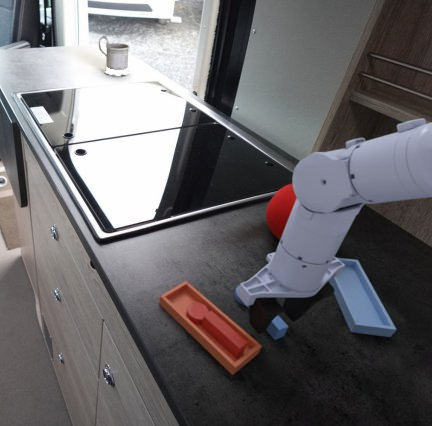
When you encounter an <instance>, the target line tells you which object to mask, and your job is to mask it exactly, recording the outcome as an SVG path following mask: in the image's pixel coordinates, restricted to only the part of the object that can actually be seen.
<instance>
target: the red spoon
mask: <svg viewBox="0 0 432 426" xmlns="http://www.w3.org/2000/svg"><path fill="white" fill-rule="evenodd" d="M186 317H187V318H188V319H189V320H190V321H191V322H192V323H193V324H196V325H201V327H202V328H204V329H205V330H206V331H207V332H208V333H209V334H210V335H211V336H212V337H213V338H214V339H215V340H216V341H217V342H219V343H220V344H221V345H222V346H223V347H224V348H225V349H226V350H227V351H228V352H229V353H230V354H231V355H233V356H234V357H235V358H238V357H239V356H240V355H241V354H242V353H244V351H245V348H246V346H247V343H248V342H247V341H246V340H245V339H243V338H242V337H241V336H240V335H239V334H238V333H237V332H235V331H234V330H233V329H232V328H231V327H230V326H229V325H227V324H226V323H225V322H224V321H223V320H222V319H221V318H219V317H218V316H217V315H216V314H215V313H214V312H213V311H211V312H209V310H208V308H207V307H206V306H205V305H204V304H202V303H199V302H193V303H191V304H189V305H188V307H187V311H186Z"/></svg>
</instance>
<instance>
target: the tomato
mask: <svg viewBox="0 0 432 426" xmlns="http://www.w3.org/2000/svg"><path fill="white" fill-rule="evenodd" d="M296 199H297V197H296V195H295V193H294V189H293V183H290V184H286V185H284V186H283V187H282V188H280V189H278V191H276V193H275V194H274V195H273V196H272V198H271V199H270V200H269V202H268V204H267V206H266V209H265V210H266V211H265V220H266V224H267V226H268V228H269V230H270V232H271V233H272V234H273V235H274V236H275V237H276V238H277V239H278V240H279V241H280V240H281V237H282V234H283V232H284V229H285V227H286V224H287V222H288V219H289V216H290V214H291V211H292V209H293V206H294V204H295V201H296Z"/></svg>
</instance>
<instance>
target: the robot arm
mask: <svg viewBox="0 0 432 426" xmlns="http://www.w3.org/2000/svg"><path fill="white" fill-rule="evenodd" d="M396 129H397V132H392V133H389V134H385V135H382V136H379V137H376V138H372V139H368V140H366V138H364V137H358V138H353V139H351V140H347V141H346V142H345V147H344V148H340V149H334V150H328V151H315V152H311V154H309V155H307V156H305V157H303V158H302V159H301V160H299V162H298V163H297V164H296V166H295V167H294V170H293V173H292V178H291V179H292V181H291V184H293V189H294V193H295V195H296V197H297V199H296V201H295V204H294V206H293V209H292V211H291V214H290V216H289V219H288V222H287V224H286V227H285V229H284V232H283V234H282V237H281V240H279V242H278V244H277V247H276V249H275V252H271V253H268V254H267V255H266V258H265V260H266V262H268V263H267V264H266V265H264V267H262V268H261V269H260V270H258V272H257V273H255V274H254V275H253V276H251V277H247V278H246V279H244V281H242V282H241V283H239V285H240V286H239V285H238V286H239V289H238V292H237V295H238V296H239V298H240V299H241V300H242V302H244V304H245V305H244V306H246V307H247V306H249V309H248V312H249V313H248V314H249V319H248V322H249V325H250V326H251V327H252V328H253V329H254V331H255V332H256V333H257V334H258V335H260V334H263V333H265V332H266V331H267V330H266V329H267V328H268V326H269V325H270V323H271V322H272V320H273V319H274V318H275V317H276V316H280V315H281V314H283V313H284V314H285V315H286V316H287V317H288V318H289V319H290V320H291V322H292V323H293V322H295V321H298V320H299V319H301V318H302V317H303V316H304V315H305V314H306V313H307V312H308V311H309V310H310V309H312V308H313V307H314V306H315V305H317V304H318V303H319V302H321V301H323V300H325V299H326V298H329V297H331V296H334V292H335V290H334V287H333V286H332V285H331V284H330V283H329V279H330V278H331V277H337V276H340V274H341V272H342V270H343V269H344V267H345V265H344V264H343V263H342V262H341V261H340V260H338V259H337V258H338V257H336V254H337V253H338V252H339V249H340V247H341V245H342V243H343V241H344V239H345V237H346V236H347V234H348V232H349V230H350V229H351V226H352V224H353V222H354V220H355V219H356V217H357V215H359V213H360V211H361V209H362V208H363V207H364V206H365V205H366V204H367V205H374V204H375V205H376V204H384V203H391V202H392V203H393V202H400V201H409V200H418V199H427V198H432V122H427V121H426V119H425V118H424V117H422V118H417V119H416V118H415V119H411V120H408V121H404V122H401V123H398V124H397V125H396ZM278 298H285V299H284V301H283V306H282V304H280V303H279V302H278V301H277V300H278Z"/></svg>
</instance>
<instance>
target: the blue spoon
mask: <svg viewBox="0 0 432 426" xmlns="http://www.w3.org/2000/svg"><path fill="white" fill-rule="evenodd" d="M239 286H240V284H238V285H237V286H236V288H235V291H234V294H233V296H234V299H235V301H236V302H238V304H240V305H243V306H246V305H245V304H244V302H242V300H241V299H240V298H239V296H238V295H237V292H238V289H239ZM246 308H247V309H248V310H249V306H246ZM288 328H289V325H288V324H287V323H286V322H285V321H284V320H283V319H282V318H281V316H280V315H278V316H276V317H275V318H274V319H273V320H272V322H271V323H270V325H269V326H268V328H267V329H266V330H265V331H266V333H268V334H269V336H270V337H271V338H272V339H273V340H274V341H275V340H278V339H281V338H283V337H285V335H286V333H287V330H288Z"/></svg>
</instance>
